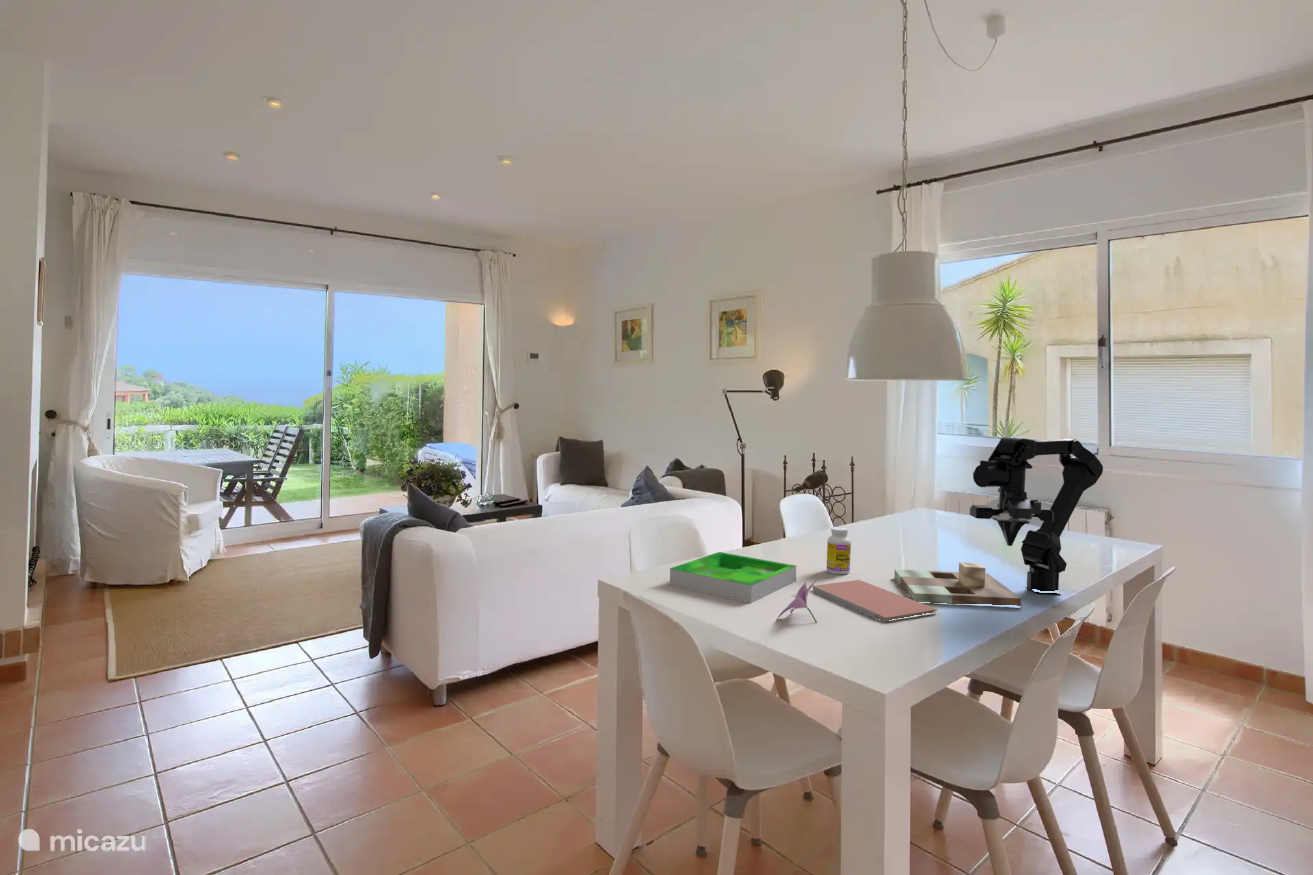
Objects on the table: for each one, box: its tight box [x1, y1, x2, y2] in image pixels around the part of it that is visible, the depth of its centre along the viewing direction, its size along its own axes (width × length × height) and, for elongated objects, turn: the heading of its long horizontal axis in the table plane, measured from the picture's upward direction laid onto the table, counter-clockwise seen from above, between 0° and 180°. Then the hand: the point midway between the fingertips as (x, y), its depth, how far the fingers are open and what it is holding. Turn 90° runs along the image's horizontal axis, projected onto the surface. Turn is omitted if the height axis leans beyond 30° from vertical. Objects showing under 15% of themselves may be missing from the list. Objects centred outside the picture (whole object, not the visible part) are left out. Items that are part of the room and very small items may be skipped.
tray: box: [669, 551, 797, 604], centre depth 183 cm, size 25×25×5 cm
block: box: [958, 561, 986, 587], centre depth 176 cm, size 5×5×5 cm
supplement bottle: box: [826, 526, 852, 575], centre depth 195 cm, size 7×7×13 cm
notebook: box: [811, 579, 938, 622], centre depth 168 cm, size 27×17×2 cm, turn 24°
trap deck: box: [894, 568, 1022, 607], centre depth 177 cm, size 25×23×2 cm
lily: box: [776, 580, 818, 624], centre depth 154 cm, size 12×12×10 cm
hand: (1009, 545), depth 174 cm, fingers closed
